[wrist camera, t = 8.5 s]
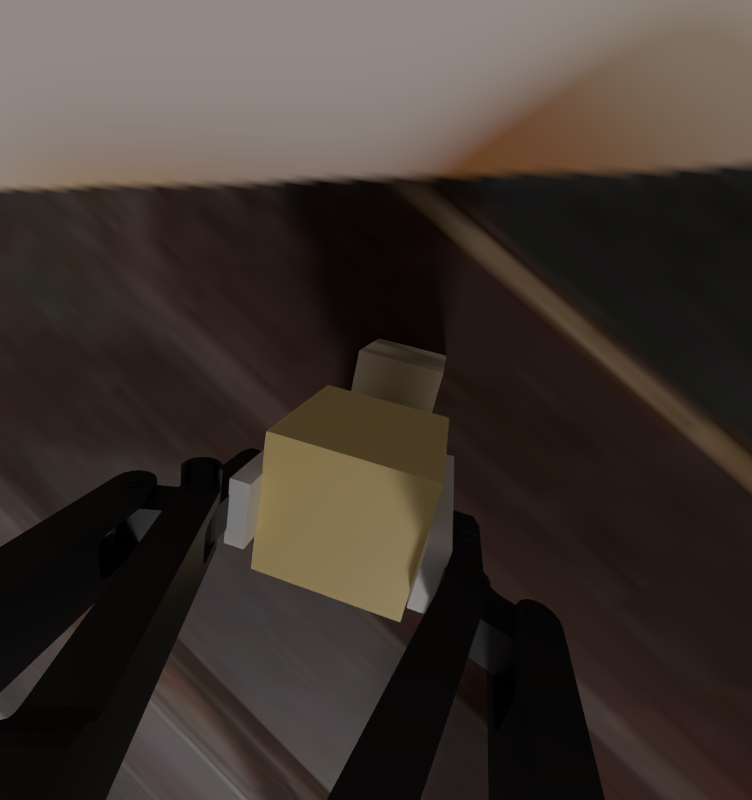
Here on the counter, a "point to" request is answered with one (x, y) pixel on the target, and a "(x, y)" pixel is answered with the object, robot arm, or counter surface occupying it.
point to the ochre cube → (350, 497)
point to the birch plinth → (399, 374)
